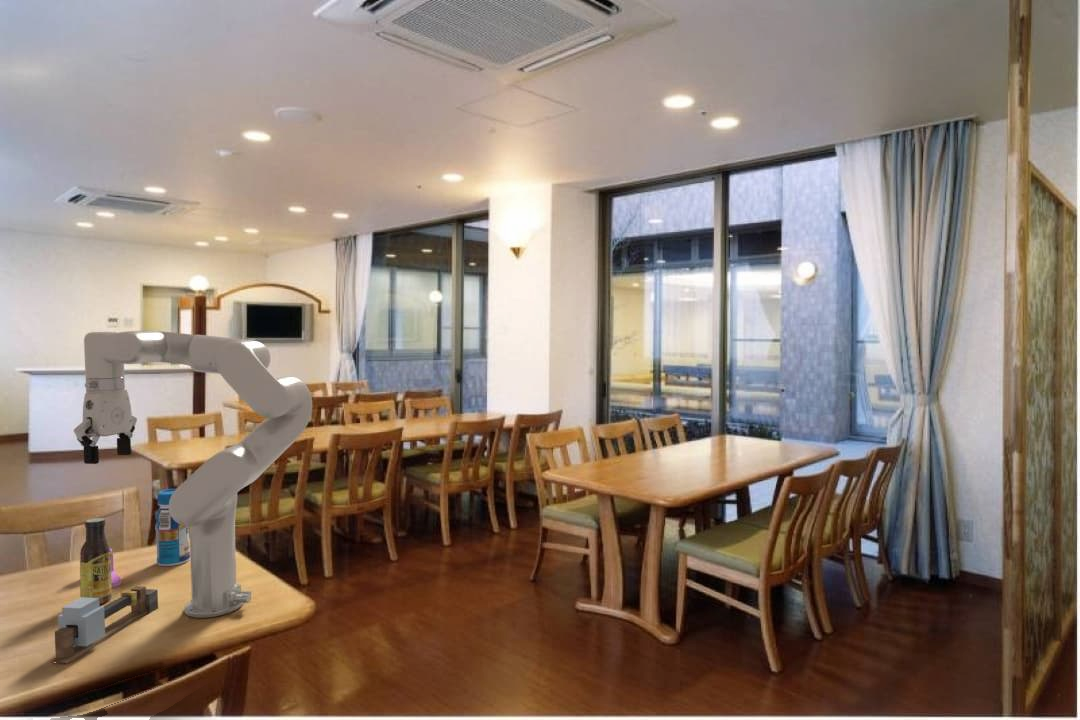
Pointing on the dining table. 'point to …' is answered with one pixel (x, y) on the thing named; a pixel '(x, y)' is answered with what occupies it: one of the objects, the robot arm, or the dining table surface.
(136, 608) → the stand
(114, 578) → the bracket
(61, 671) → the dining table surface
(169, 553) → the beverage bottle
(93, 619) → the notched grey cube
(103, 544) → the sauce bottle
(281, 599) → the dining table surface
